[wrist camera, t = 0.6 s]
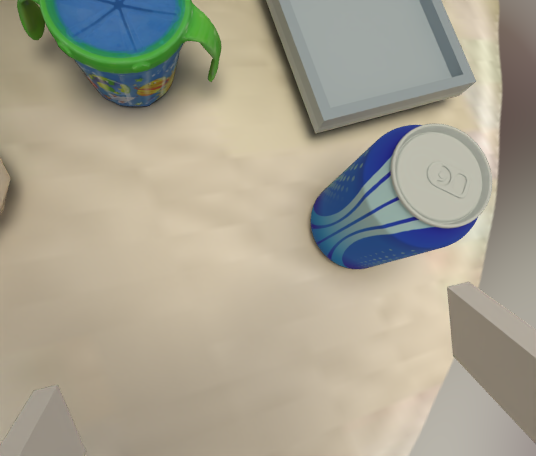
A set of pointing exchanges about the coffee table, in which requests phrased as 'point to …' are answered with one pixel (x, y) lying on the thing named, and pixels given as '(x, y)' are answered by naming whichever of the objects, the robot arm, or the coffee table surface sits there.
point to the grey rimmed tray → (369, 56)
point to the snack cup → (124, 41)
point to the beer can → (403, 197)
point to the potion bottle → (3, 184)
